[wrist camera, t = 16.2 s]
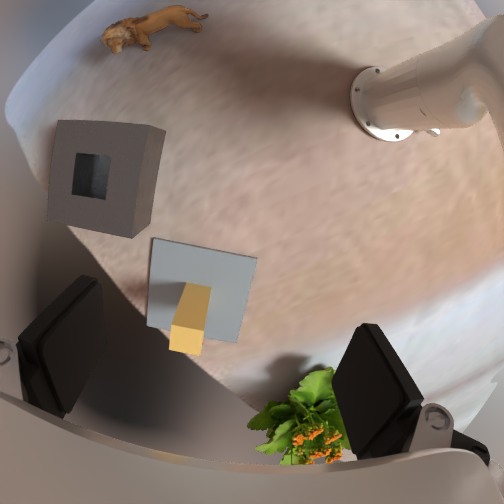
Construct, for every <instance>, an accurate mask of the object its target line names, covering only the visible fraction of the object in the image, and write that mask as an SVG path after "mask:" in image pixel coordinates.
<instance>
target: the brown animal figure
mask: <svg viewBox="0 0 504 504" xmlns="http://www.w3.org/2000/svg"><path fill="white" fill-rule="evenodd" d="M188 14H191V15H193V16H194V17H196V18H198V19H205V18H207V17H208V16H209V15H208V14H205V15H202V16H199V15H198V14H197V13H195V12H194V11H193V10H191V9H188V8H185V7H183V6H181V5H175V6H169V7H167V8H165V9H162V10H160V11H158V12H155V13H152V14H149V15H146V16H143V17H141V18H128V19H124V20H121V21H118V22H116V23H115V24H112V25H111V26H110V27H108V28H107V29H106V31H105V32H104V34H103V38H102V39H101V41H102V42H103V43H104V44H105V46H106V47H109V48H112V52H113V53H114V54H117V53H120V52H122V50H123V48H124V47H126V46H127V45H128V46H129V45H133V44H135V43H137V42H139V43H140V44H142V45H144V46H143V50H145V51H148V50H149V49H150V48H151V42H150V41H149V40H148V37H149V36H148V35H149V34H152V33H155V32H157V31H160V30H162V29H164V28H165V27H167V26H168V25H170V24H174V25H176V26H178V27H182V28H194V29H193V31H194V32H196V33H198V32H200V31H201V30H202V26H201V25H200V23H198V22H192V21H190V19H189V17H188Z"/></svg>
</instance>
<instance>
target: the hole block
mask: <svg viewBox="0 0 504 504" xmlns="http://www.w3.org/2000/svg"><path fill="white" fill-rule="evenodd" d="M165 134H166V131H165V130H162V129H159V128H156V127H153V126H150V125H143V124H133V123H121V122H107V121H87V120H58V123H57V128H56V134H55V140H54V146H53V153H52V161H51V169H50V179H49V192H48V214H47V221H50V222H55V223H60V224H64V225H69V226H74V227H78V228H83V229H88V230H93V231H97V232H102V233H107V234H112V235H116V236H121V237H126V238H131V239H132V238H134V237H135V236H136V235H137V234H138V233H140V232H141V231H142V230H143V229H144V228H146V227H147V226H148V225H149V224H150V221H151V213H152V206H153V199H154V193H155V187H156V181H157V175H158V169H159V164H160V158H161V153H162V148H163V144H164V139H165Z"/></svg>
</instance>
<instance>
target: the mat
mask: <svg viewBox="0 0 504 504" xmlns="http://www.w3.org/2000/svg"><path fill="white" fill-rule="evenodd" d="M256 263H257V258H255V257H250V256H245V255H240V254H235V253H230V252H225V251H220V250H215V249H210V248H205V247H199V246H194V245H189V244H184V243H179V242H174V241H169V240H164V239H159V238H154V240H153V248H152V258H151V268H150V280H149V294H148V311H147V326H150V327H155V328H159V329H163V330H168V331H171V324H172V321H173V318H174V316H175V313H176V310H177V307H178V304H179V302H180V299H181V296H182V293H183V291H184V288H185V285H186V282H188V283H193V284H198V285H203V286H208V287H212V288H211V293H210V299H209V305H208V311H207V317H206V323H205V329H204V335H203V338H208V339H214V340H219V341H225V342H231V343H237V339H238V335H239V331H240V327H241V323H242V319H243V315H244V311H245V307H246V303H247V299H248V295H249V291H250V287H251V283H252V279H253V275H254V271H255V267H256Z"/></svg>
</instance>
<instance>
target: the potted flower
mask: <svg viewBox="0 0 504 504" xmlns="http://www.w3.org/2000/svg"><path fill="white" fill-rule="evenodd" d="M335 372H336V370H333V368H332V367H328V368H327V369H325V370H318V371H314V372H310V373H309V375H307V376H305V378H304V379H303V380H302V381H300V382H299V384H300V385H301V386H302V387H299V388H298V389H296V388H294V389H295V390H290V394H291V395H288V397H289V399H287V400H285V401H284V402H278V403H277V402H276V401H271V400H270V401H269V402H268V403H267V405H266V406H265V407H264V410H262V411H261V412H260V413H259V414H257V415H256V416H255V417H254V418H252V419H251V420H250V422H249V423H248V425H247V427H248V428H251V430H255V429H256V430H260V429H261V430H262V431H263V430H266V429H267V428H268V429H269V430H268V431H267V434H266V436H267V437H269V438H270V440H269V441H268V443H265V444H262V445H260V446H256V447H255V450H256V451H260V452H261V453H263V452H264V451H266V452H265V453H266V455H270V454H273V453H276V451H277V450H278V452H279V453H282V452H283V451H284V450H285V449H286V446H287V447H288V449H287V451H286V452H285V454H284V456H283V459H282V460H281V461H280V462H279V464H280V465H313V464H314V463H315V462H312V461H313V459H315V458H319V457H322V456H326V458H325V461H326V462H325V463H326V464H327V463H332V461H333V460H334V461H335V460H338V459H340V458H341V457H342V455H343V454H342V449H344V448H345V449H348V450H350V449H351V447H350V444H349V440H348V437H347V434H346V430H345V427H344V424H343V420H342V417H341V414H340V411H339V407H338V404H337V401H336V398H335V395H334V392H333V389H332V384H331V382H332V378H333V375H334V373H335ZM330 446H331V447H330ZM328 447H329V448H328ZM332 447H333V448H332ZM331 449H332V450H331ZM329 454H330V456H329Z"/></svg>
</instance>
